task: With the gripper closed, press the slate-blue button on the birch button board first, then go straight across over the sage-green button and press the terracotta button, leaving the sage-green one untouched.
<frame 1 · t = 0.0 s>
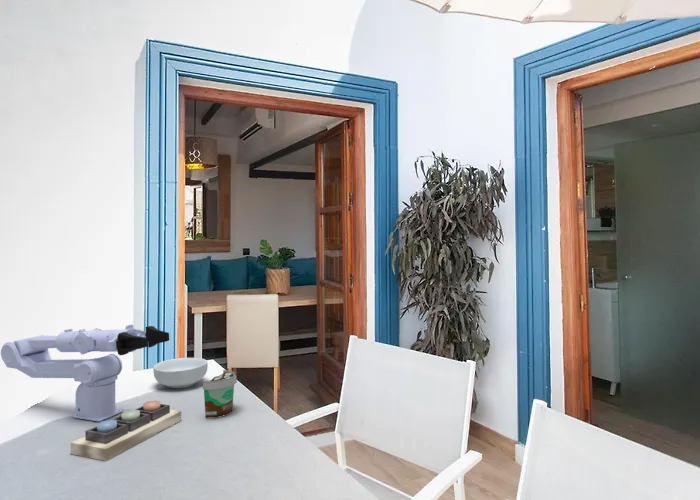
hand: (157, 339, 119), 22 cm above the table, tool horizontal, fingers open, 7 cm apart
cereal bowl: (180, 385, 153), on the table
button sage: (130, 416, 112), point 5 cm above the table, slide at 0.0 cm
button board: (130, 435, 112), on the table
button blue: (106, 427, 105), point 5 cm above the table, slide at 0.0 cm
button terracotta: (151, 406, 119), point 5 cm above the table, slide at 0.0 cm
food container: (224, 413, 128), on the table
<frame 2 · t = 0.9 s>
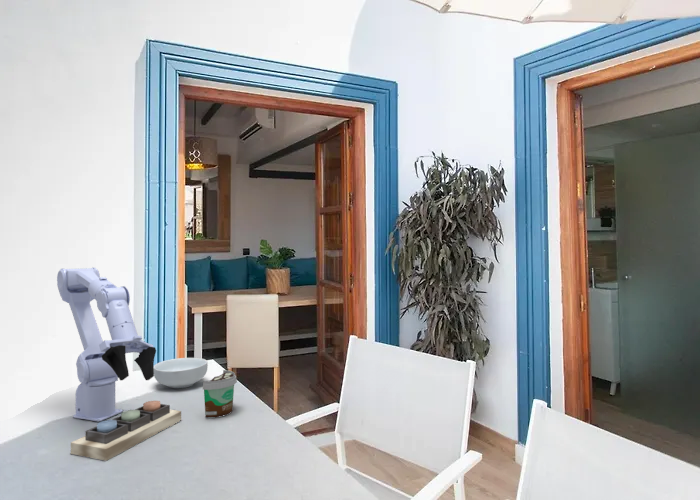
hand: (137, 378, 110), 14 cm above the table, tool tilted 40°, fingers open, 7 cm apart
nothing on the table moved.
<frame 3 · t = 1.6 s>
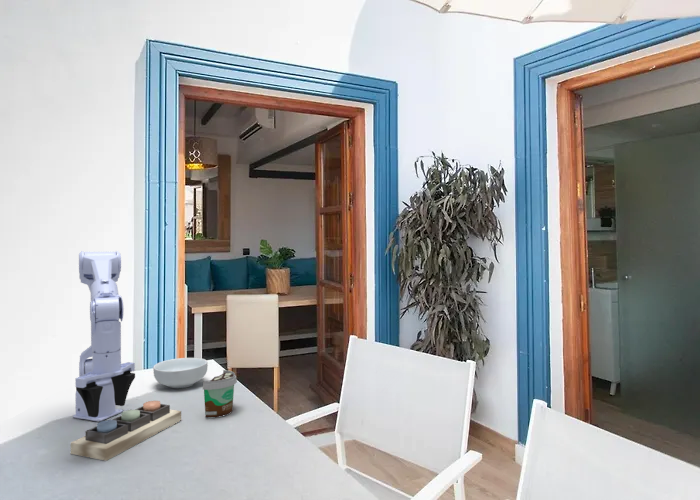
hand: (107, 410, 105), 8 cm above the table, tool pointing down, fingers open, 7 cm apart
nothing on the table moved.
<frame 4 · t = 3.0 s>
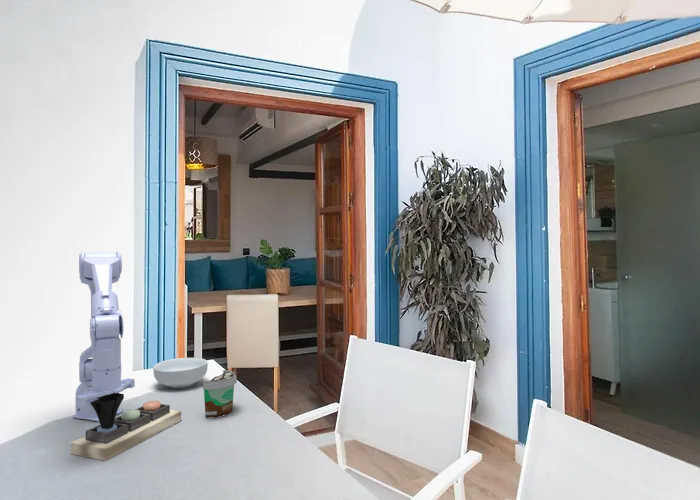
hand: (107, 427, 105), 5 cm above the table, tool pointing down, fingers closed, pressing on button blue
button blue: (107, 431, 105), point 4 cm above the table, slide at 1.0 cm, touching gripper
everything else where it was.
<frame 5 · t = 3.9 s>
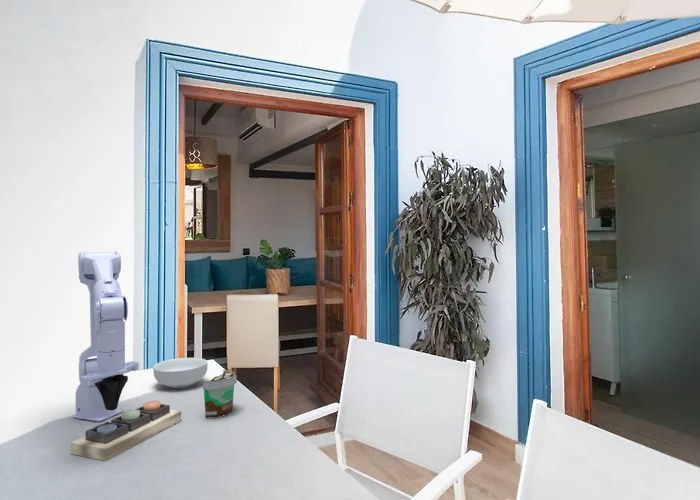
hand: (111, 409, 107), 8 cm above the table, tool pointing down, fingers closed
button blue: (107, 431, 105), point 4 cm above the table, slide at 1.0 cm
everything else where it was.
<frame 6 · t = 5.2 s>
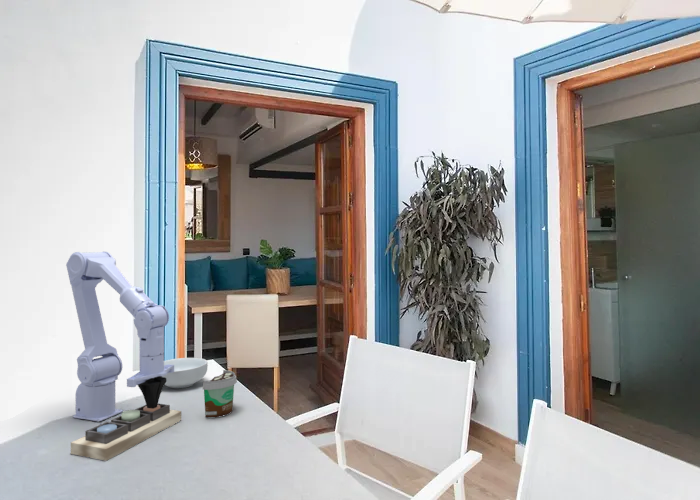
hand: (152, 407, 119), 5 cm above the table, tool pointing down, fingers closed, pressing on button terracotta
button terracotta: (151, 410, 119), point 4 cm above the table, slide at 1.0 cm, touching gripper
everything else where it was.
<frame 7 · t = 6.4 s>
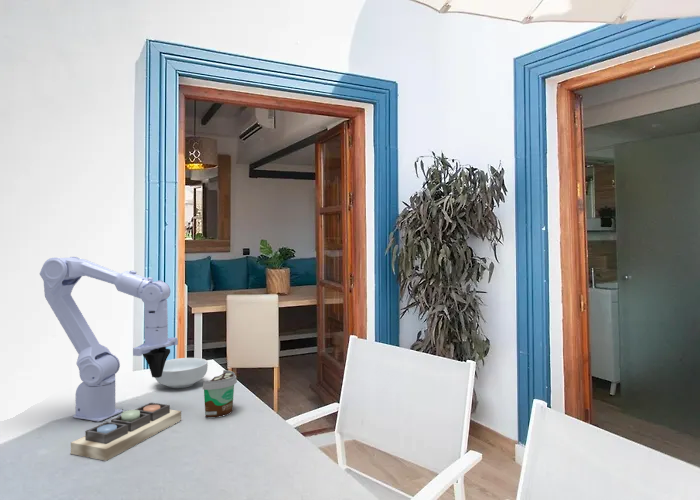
hand: (156, 376, 126), 10 cm above the table, tool pointing down, fingers closed
button terracotta: (151, 410, 119), point 4 cm above the table, slide at 1.0 cm
everything else where it was.
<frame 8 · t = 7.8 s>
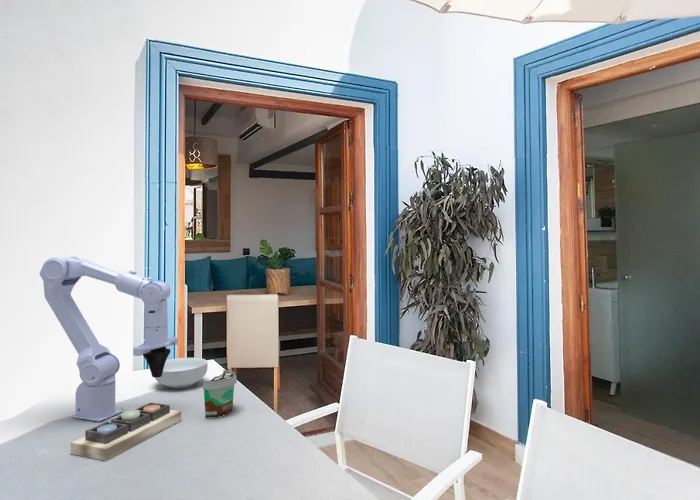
hand: (156, 376, 126), 10 cm above the table, tool pointing down, fingers closed
nothing on the table moved.
at the end: button blue slide at 1.0 cm; button terracotta slide at 1.0 cm; button sage slide at 0.0 cm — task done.
